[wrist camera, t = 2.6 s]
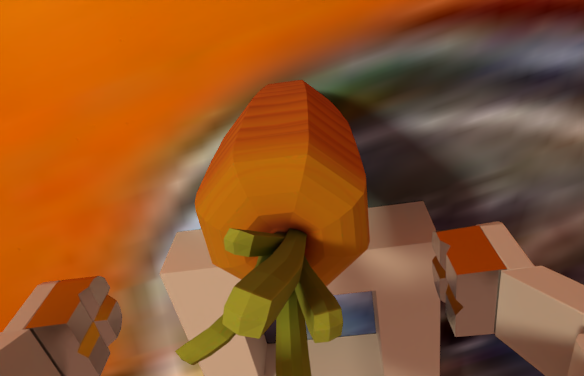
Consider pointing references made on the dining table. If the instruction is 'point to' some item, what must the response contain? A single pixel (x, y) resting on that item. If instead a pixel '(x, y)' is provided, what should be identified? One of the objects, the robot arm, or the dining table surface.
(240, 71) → the dining table surface
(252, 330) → the carrot
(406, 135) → the dining table surface
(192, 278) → the duct block
